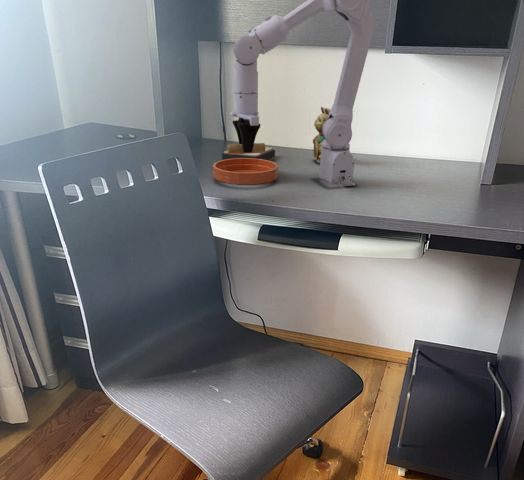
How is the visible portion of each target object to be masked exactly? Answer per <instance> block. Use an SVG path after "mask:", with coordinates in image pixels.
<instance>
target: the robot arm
mask: <svg viewBox="0 0 524 480" xmlns="http://www.w3.org/2000/svg"><path fill="white" fill-rule="evenodd" d="M322 12H336V13H337V14H338V15H339V16H340V17H341V18H343V20H344V22H345V23H346V25H347V27H348V30H349V31H350V36H349V39H348V44H347V48H346V51H345V52H346V53H345V55H344V60H343V64H342V69H341V72H340V77H339V80H338V84H337V88H336V92H335V96H334V99H333V104H332V105H331V108H330V113H329V116H328V118H327V119H326V121H325V122H324V124H323V127H322V133H323V136H324V137H325V138H326V139H325V140H324V142H323V143H322V147H321V160H320V163H319V175H318V178H319V179H320V180H324V181H326V182H328V183H329V184H332V185H333V184H339V185H341V186H342V187H353V186H356V183H355V182H353V179H354V168H355V158H354V156H353V154H352V153H351V151H350V147H351V144H350V142H351V140H352V137H353V130H352V129H353V128H352V123H353V118H354V117H353V114H354V113H353V112H354V110H353V109H354V106H355V101H356V98H357V94H358V90H359V87H360V83H361V78H362V76H363V72H364V68H365V64H366V60H367V56H368V52H369V49H370V44H371V41H372V38H373V35H374V29H375V23H374V18H373V13H372V9H371V4H370V0H306V1H304V2H302V3H301V4H300V5H299V6H296V7H295V8H294V9H293V10H292V11H290V12H287V14H285V15H284V16H280V15H278V14H274V15H272V16H271V14H268V15H267V16H266V17H264V20H265V21H263V22H261V23H260V24H258V25H257V26H255V27H254V28H248V29H247V30H246V33H247V34H244V35H243V34H242V35H241V36H240V37H239V38H237V39H236V41H235V43H234V46H233V55H234V57H235V59H234V69H235V70H234V72H233V75H234V76H233V83H234V85H233V87H234V89H233V90H234V91H233V92H234V93H233V94H234V111H230V112H229V116H230V117H235V118H238V119H236V120H232V121H231V122H232V125H233V127H234V129H235V132H236V135H237V141H238V144H242V147H243V151H244V153H250V152H252V151H253V146H254V143H255V141H256V137H257V134H258V132H259V130H260V129H261V123H260V115H259V71H258V58H259V57H260V55H265V54H267V53H269V52H270V51H272V50H273V49H275V48H276V47H278V46H279V45H281V44H283V43H285V41H287V40H288V37H289V33H290V31H291V30H293V29H294V28H296V27H298V26H299V25H301V24H302V23H305V22H307V21H308V20H310V19H311V18H313V17H314V16H317V15H318V14H319V13H322Z"/></svg>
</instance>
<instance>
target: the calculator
mask: <svg viewBox="0 0 524 480" xmlns="http://www.w3.org/2000/svg"><path fill="white" fill-rule="evenodd" d="M275 156H276V149H274V147H268V146H265V152H264V153H249V154H231V155H230V154H228V152H227V150H225V151H223V152H222V153H221V160H226V159H233V158H254V159H263V160H268V161H270V160H271V159H272V158H275Z"/></svg>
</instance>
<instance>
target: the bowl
mask: <svg viewBox="0 0 524 480" xmlns="http://www.w3.org/2000/svg"><path fill="white" fill-rule="evenodd" d="M278 175H279V164H277V163H276V162H275V161H271V160H263V159H254V158H233V159H226V160H222V159H221V160H218V161H216V162H214V163H213V164H212V176H213V178H214V179H215V180H216V181H218V182H222V183H225V184H231V185H240V186H241V185H246V186H247V185H248V186H249V185H251V186H252V185H263V184H267V183H271V182H274V181H276V180H277V179H278V178H279V176H278Z"/></svg>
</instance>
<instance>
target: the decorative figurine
mask: <svg viewBox="0 0 524 480" xmlns="http://www.w3.org/2000/svg"><path fill="white" fill-rule="evenodd" d="M320 110H321V113H320V114H318V116H317V118H315V120H314V123H313V124H314V125H313V126H314V127H315V130H316V131H317V132H318V134H316V135H315V136H314V137H313V139H312V144H313V157H314V158H315V162H317V164H320V160H321V147H322V143H323V142H324V140H325V139H326V138H325V137H324V136H323V133H322V127H323V124H324V122H325V121H326V119H327V118H328V116H329V113H330V110H331V108H327V107H324V106H320Z"/></svg>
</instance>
